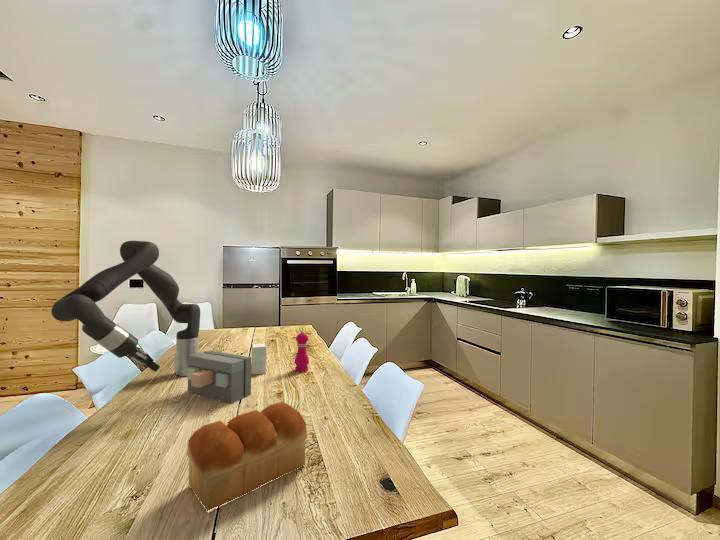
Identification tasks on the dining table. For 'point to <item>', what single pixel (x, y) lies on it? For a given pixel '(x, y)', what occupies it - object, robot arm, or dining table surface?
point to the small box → (258, 359)
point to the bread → (245, 453)
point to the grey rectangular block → (222, 379)
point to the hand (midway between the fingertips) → (157, 368)
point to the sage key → (192, 371)
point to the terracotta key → (202, 378)
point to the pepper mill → (301, 352)
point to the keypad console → (229, 364)
